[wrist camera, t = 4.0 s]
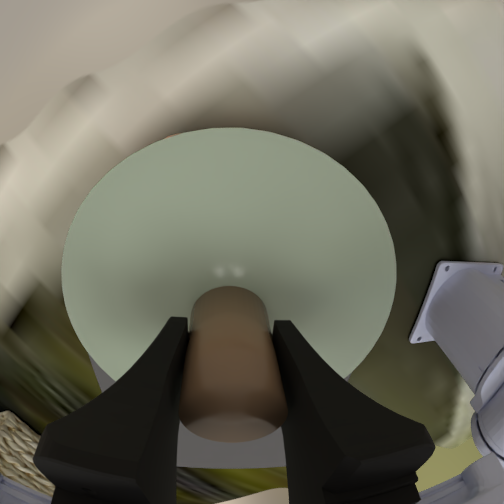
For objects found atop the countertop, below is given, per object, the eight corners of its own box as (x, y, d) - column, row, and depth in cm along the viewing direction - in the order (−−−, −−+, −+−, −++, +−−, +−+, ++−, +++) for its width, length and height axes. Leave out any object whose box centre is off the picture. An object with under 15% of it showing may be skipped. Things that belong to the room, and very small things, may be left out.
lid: (421, 156, 11) (522, 191, 6) (344, 405, 17) (370, 477, 12) (50, 133, 9) (-51, 157, 4) (103, 400, 15) (81, 475, 10)
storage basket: (-27, 409, 27) (-56, 472, 13) (7, 399, 25) (-31, 486, 12) (70, 484, 36) (58, 542, 23) (125, 485, 35) (116, 558, 21)
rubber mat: (354, 353, 24) (357, 358, 23) (306, 460, 32) (307, 463, 31) (89, 345, 21) (87, 350, 21) (134, 457, 29) (133, 460, 29)
